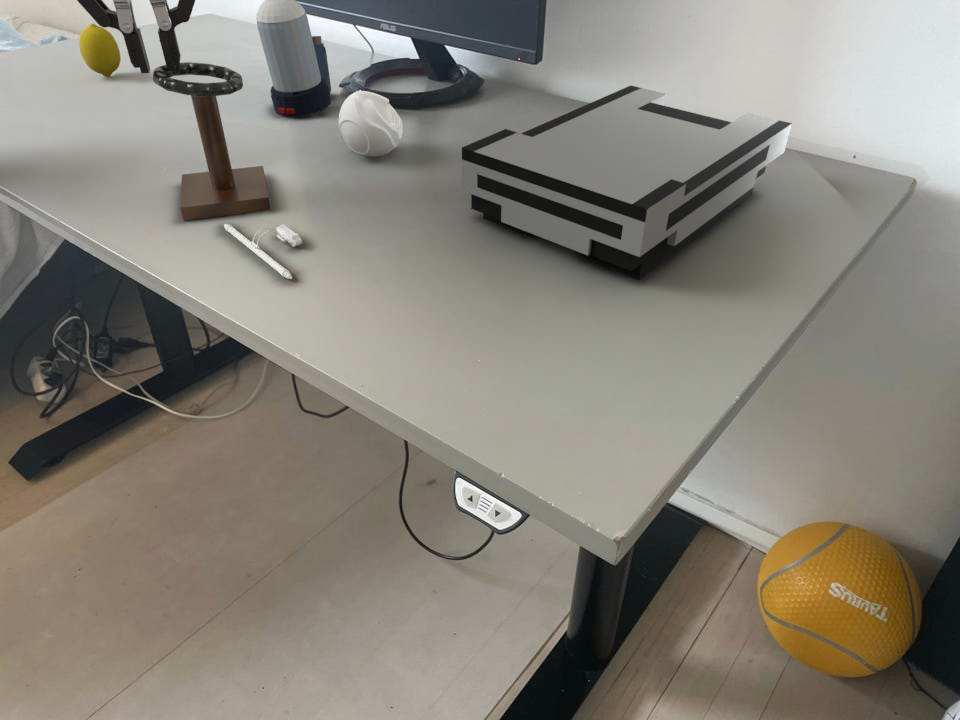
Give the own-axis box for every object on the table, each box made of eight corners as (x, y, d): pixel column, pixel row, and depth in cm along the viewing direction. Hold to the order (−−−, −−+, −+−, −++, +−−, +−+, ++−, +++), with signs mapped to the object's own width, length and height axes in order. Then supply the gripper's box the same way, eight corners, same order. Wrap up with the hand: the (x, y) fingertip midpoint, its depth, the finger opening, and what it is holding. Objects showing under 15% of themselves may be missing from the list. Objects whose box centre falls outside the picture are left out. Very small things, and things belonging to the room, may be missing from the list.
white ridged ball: (398, 167, 87) (393, 103, 82) (336, 166, 87) (328, 101, 82) (407, 143, 93) (403, 82, 88) (349, 141, 93) (343, 80, 89)
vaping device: (296, 98, 106) (281, 8, 101) (324, 94, 109) (312, 7, 104) (306, 98, 104) (292, 7, 99) (335, 94, 108) (323, 6, 102)
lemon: (119, 70, 118) (104, 18, 113) (131, 78, 115) (116, 24, 110) (84, 76, 115) (67, 23, 110) (95, 84, 112) (78, 30, 107)
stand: (183, 221, 75) (153, 111, 68) (184, 186, 82) (158, 84, 75) (270, 210, 78) (250, 103, 70) (265, 177, 84) (246, 76, 77)
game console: (775, 182, 84) (795, 112, 79) (633, 292, 65) (647, 209, 60) (623, 139, 95) (631, 75, 90) (462, 223, 75) (461, 147, 70)
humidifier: (276, 121, 100) (219, -86, 83) (273, 100, 106) (219, -97, 89) (334, 110, 101) (288, -96, 84) (327, 90, 107) (284, -106, 90)
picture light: (221, 228, 74) (217, 210, 73) (260, 216, 76) (256, 198, 75) (288, 283, 66) (284, 262, 64) (329, 267, 68) (326, 247, 67)
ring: (151, 94, 68) (149, 81, 67) (156, 70, 74) (154, 58, 73) (244, 100, 70) (244, 87, 70) (241, 76, 77) (240, 64, 76)
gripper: (190, -148, 64) (230, 55, 75) (20, -146, 61) (87, 65, 72) (189, -143, 59) (232, 75, 69) (2, -142, 55) (78, 87, 66)
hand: (158, 69), depth 70 cm, fingers closed
